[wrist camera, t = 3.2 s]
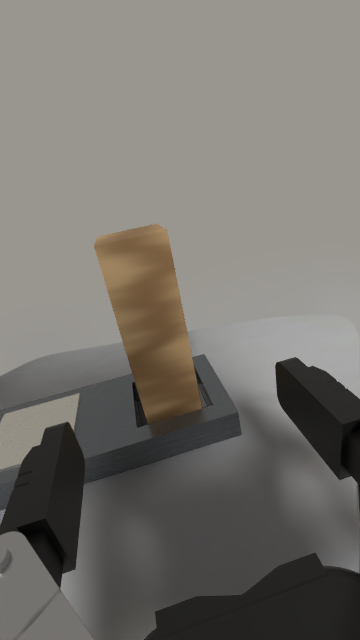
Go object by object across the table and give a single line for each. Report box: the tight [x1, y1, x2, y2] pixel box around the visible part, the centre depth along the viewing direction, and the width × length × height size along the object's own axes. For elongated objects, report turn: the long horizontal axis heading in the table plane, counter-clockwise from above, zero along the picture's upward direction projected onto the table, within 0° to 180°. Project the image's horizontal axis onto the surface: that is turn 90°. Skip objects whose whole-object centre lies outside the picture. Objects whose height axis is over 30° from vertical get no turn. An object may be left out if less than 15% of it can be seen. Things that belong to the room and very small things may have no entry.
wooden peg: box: [94, 224, 202, 424], centre depth 21 cm, size 4×4×14 cm
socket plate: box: [0, 354, 241, 510], centre depth 23 cm, size 18×8×2 cm, turn 102°
